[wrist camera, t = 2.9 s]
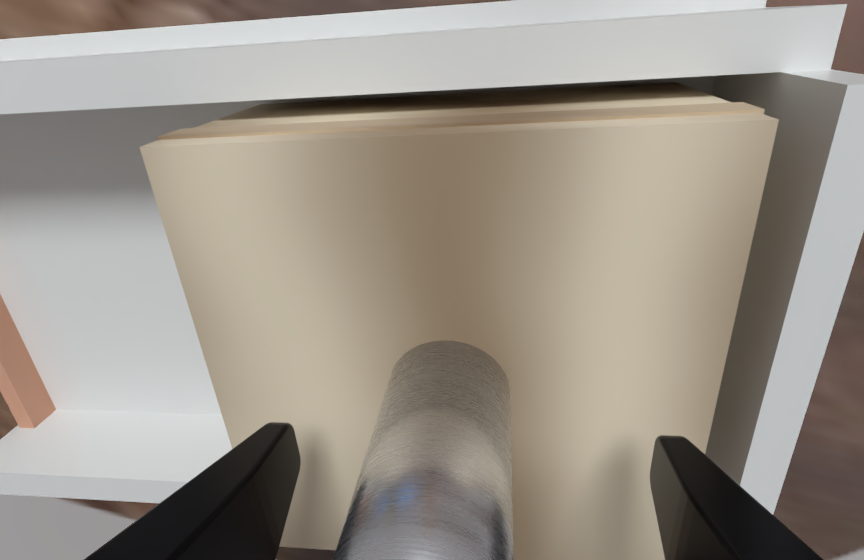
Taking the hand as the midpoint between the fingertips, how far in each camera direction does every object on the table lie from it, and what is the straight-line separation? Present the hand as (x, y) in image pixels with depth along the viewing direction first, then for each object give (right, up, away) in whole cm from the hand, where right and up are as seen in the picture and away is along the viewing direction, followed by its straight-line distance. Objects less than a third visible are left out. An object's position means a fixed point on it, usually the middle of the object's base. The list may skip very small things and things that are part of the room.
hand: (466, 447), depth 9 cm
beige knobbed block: (0, +3, +7) cm, 8 cm away
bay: (-4, +3, +7) cm, 9 cm away
